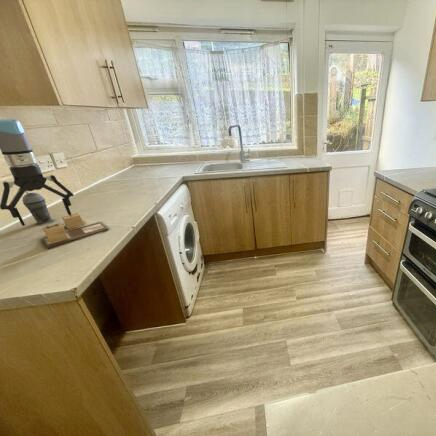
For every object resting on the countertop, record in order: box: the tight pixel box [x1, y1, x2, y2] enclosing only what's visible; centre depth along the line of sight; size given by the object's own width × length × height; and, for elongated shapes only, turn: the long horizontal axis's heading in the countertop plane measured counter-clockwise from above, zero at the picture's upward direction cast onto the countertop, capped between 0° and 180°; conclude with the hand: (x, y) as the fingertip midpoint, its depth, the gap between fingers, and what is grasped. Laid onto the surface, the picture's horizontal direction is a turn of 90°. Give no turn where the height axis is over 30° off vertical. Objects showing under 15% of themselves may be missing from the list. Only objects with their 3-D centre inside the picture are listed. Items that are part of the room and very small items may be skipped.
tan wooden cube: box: [61, 212, 85, 230], centre depth 112 cm, size 6×6×6 cm
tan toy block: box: [41, 222, 68, 243], centre depth 99 cm, size 6×6×6 cm
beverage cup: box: [22, 191, 52, 225], centre depth 112 cm, size 7×7×20 cm
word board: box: [42, 221, 109, 250], centre depth 104 cm, size 12×20×1 cm, turn 141°
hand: (47, 219), depth 96 cm, fingers open, 13 cm apart
